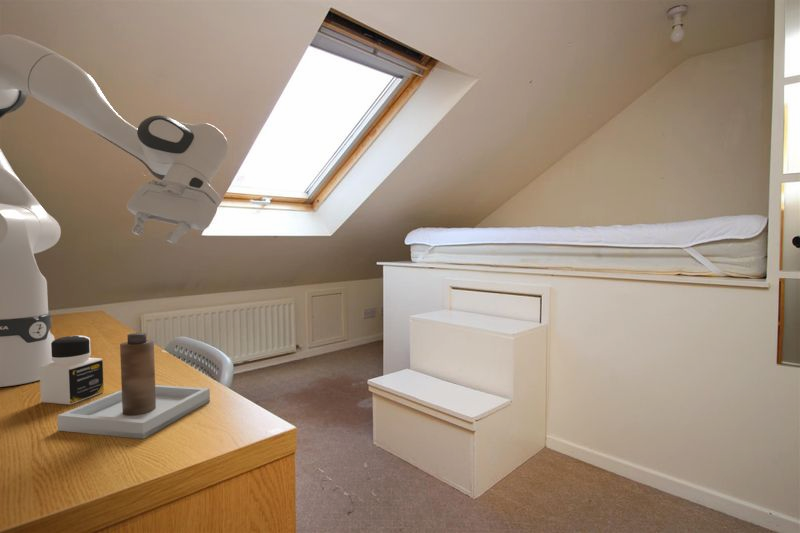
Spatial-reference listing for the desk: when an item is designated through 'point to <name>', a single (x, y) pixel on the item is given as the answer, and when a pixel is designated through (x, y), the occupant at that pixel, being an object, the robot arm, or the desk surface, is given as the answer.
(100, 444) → the desk surface
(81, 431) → the pale dish
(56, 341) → the medicine bottle
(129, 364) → the walnut pepper mill
